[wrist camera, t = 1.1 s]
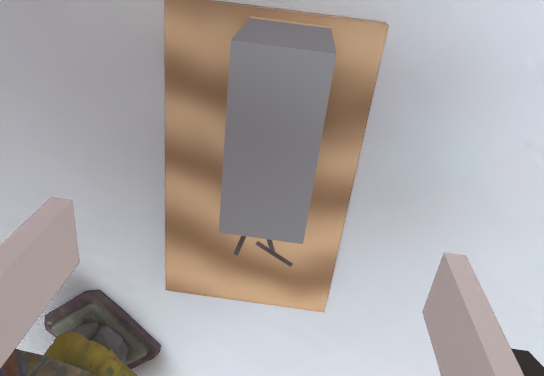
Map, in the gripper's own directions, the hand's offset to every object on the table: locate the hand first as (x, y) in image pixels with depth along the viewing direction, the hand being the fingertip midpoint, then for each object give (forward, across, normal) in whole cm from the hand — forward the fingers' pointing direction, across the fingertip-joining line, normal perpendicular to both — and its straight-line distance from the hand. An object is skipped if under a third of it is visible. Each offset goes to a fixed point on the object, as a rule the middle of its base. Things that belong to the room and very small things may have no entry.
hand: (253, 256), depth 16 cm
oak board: (+18, -1, -6) cm, 19 cm away
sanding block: (+17, 0, 0) cm, 17 cm away
